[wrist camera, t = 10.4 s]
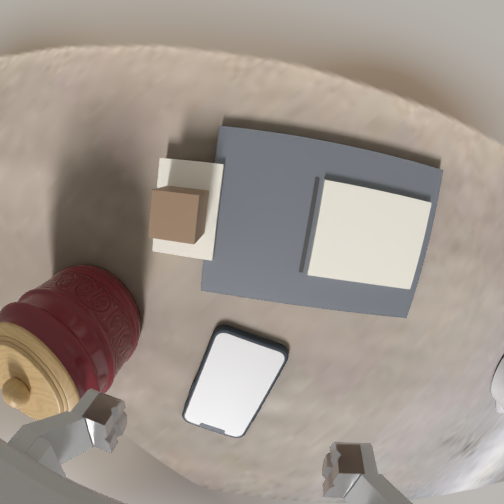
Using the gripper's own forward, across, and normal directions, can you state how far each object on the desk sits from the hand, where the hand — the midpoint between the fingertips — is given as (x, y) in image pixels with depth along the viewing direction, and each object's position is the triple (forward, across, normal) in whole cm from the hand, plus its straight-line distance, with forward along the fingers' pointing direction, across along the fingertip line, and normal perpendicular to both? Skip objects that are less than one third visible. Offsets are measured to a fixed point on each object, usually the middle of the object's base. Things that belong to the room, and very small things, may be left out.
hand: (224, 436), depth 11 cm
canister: (+21, +19, +10) cm, 30 cm away
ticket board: (+22, -5, -4) cm, 23 cm away
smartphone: (+23, +2, +17) cm, 28 cm away
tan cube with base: (+21, +8, -4) cm, 23 cm away
